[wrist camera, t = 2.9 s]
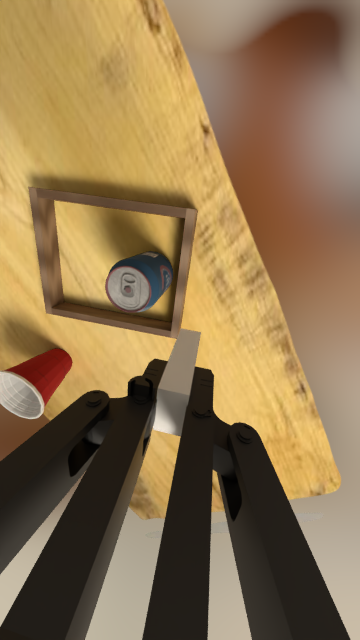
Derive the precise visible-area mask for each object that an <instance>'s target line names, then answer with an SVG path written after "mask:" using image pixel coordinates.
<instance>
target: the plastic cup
mask: <svg viewBox="0 0 360 640" xmlns="http://www.w3.org/2000/svg"><path fill="white" fill-rule="evenodd" d="M71 366H72V359H71V357H70V356H69V354H68V353H67V352H65V351H64V350H61V349H56V348H55V349H52V350H49V351H47V352H45V353H43V354H41V355H38V356H36V357H34V358H31V359H29V360H27V361H25V362H23V363H21V364H19V365H17V366H14V367H11V368H9V369H7V370H4V371H3V370H2V371H0V404H2V405H3V406H4V407H5V408H6V409H8V410H9V411H10V412H12V413H14V414H16V415H18V416H20V417H24V418H28V419H34V418H38V417H39V416H40V415H41V414H42V413H43V412H44V408H45V405H46V404H47V402H48V401H49V399H50V397H51V396H52V394H53V393H54V392H55V390H56V389H57V387H58V386H59V385H60V383H61V382H62V380H63V379H64V378H65V375H66V374H67V373H68V371H69V370H70V369H71Z"/></svg>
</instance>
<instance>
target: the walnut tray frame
mask: <svg viewBox="0 0 360 640" xmlns="http://www.w3.org/2000/svg"><path fill="white" fill-rule="evenodd" d="M28 188H29V195H30V202H31V209H32V216H33V224H34V231H35V238H36V245H37V252H38V259H39V266H40V274H41V281H42V288H43V295H44V302H45V309H46V313H48V314H53V315H58V316H63V317H68V318H73V319H78V320H84V321H89V322H94V323H99V324H104V325H109V326H114V327H119V328H124V329H129V330H135V331H140V332H145V333H150V334H155V335H160V336H165V337H170V338H175V339H177V337H178V335H179V332H180V329H181V323H182V316H183V309H184V302H185V295H186V288H187V282H188V275H189V268H190V261H191V254H192V247H193V240H194V234H195V227H196V220H197V213H198V211H197V210H196V209H189V208H181V207H174V206H167V205H159V204H152V203H144V202H137V201H130V200H122V199H115V198H107V197H100V196H93V195H85V194H78V193H70V192H63V191H56V190H48V189H41V188H33V187H28ZM54 200H56V201H64V202H71V203H78V204H85V205H92V206H99V207H106V208H114V209H121V210H128V211H135V212H142V213H149V214H156V215H164V216H171V217H178V218H185V226H184V234H183V241H182V249H181V257H180V265H179V273H178V281H177V289H176V297H175V305H174V313H173V320H172V322H166V321H161V320H156V319H150V318H145V317H140V316H135V315H129V314H124V313H119V312H113V311H108V310H103V309H97V308H92V307H87V306H82V305H76V304H71V303H66V302H64V298H63V288H62V278H61V268H60V258H59V248H58V238H57V228H56V218H55V208H54Z"/></svg>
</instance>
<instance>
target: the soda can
mask: <svg viewBox="0 0 360 640" xmlns="http://www.w3.org/2000/svg"><path fill="white" fill-rule="evenodd" d="M172 279H173V269H172V266H171V264H170V262H169V261H168V259H167V258H166V257H165V256H163V255H162V254H160V253H158V252H153V251H149V252H145V253H142V254H139V255H136V256H133V257H130V258H127V259H124V260H121V261H119V262H117V263H116V264H115V265H114V266H113V267H112V268H111V270H110V272H109V274H108V277H107V279H106V284H105V288H106V293H107V296H108V298H109V300H110V301H111V303H112V304H113V305H114V306H115V307H117V308H118V309H120V310H122V311H125V312H142V311H145V310H147V309H149V308H151V307H152V306H153V305H154V304H155V302H156V301H157V300H158V299H159V298H160V297H161V295H162V294H163V293H164V292H165V291H166V290H167V288H168V287H169V286H170V284H171V282H172Z"/></svg>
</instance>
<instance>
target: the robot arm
mask: <svg viewBox="0 0 360 640" xmlns="http://www.w3.org/2000/svg"><path fill="white" fill-rule="evenodd" d="M200 335H201V332H196V331H191V330H186V329H181V330H180V332H179V335H178V337H177V340H176V342H175V345H174V348H173V350H172V353H171V355H170V358H169V360H168V361H164V360H159V359H154V360H152V361H151V362H149V364H148V366H147V368H146V370H145V372H144V374H143V375H142V376H136V377H134V378H132V379H130V381H129V382H128V396H126V397H123V398H109V396H108V394H107V393H105V392H104V391H100V390H93V391H90V392H87V393H85V394H84V395H82V396H81V397H80V398H79V399H77V400H76V401H75V402H74V403H72V404H71V405H70V406H69V407H67V408H66V409H65V410H64V411H62V412H61V413H60V414H59V415H57V416H56V417H55V418H54V419H52V420H51V421H50V422H49V423H48V424H46V425H45V426H44V427H43V428H41V429H40V430H39V431H38V432H36V433H35V434H34V435H33V436H31V437H30V438H29V439H28V440H27V441H25V442H24V443H23V444H21V445H20V446H19V447H18V448H17V449H15V450H14V451H13V452H11V453H10V454H9V455H8V456H7V457H5V458H4V459H3V460H2V461H0V574H1V573H2V571H3V570H4V569H5V568H6V567H7V565H8V564H9V563H10V562H11V561H12V559H13V558H14V557H15V556H16V555H17V553H18V552H19V551H20V550H21V549H22V547H23V546H24V545H25V544H26V542H27V541H28V540H29V539H30V538H31V536H32V535H33V534H34V533H35V532H36V530H37V529H38V528H39V527H40V525H41V524H42V523H43V522H44V521H45V519H46V518H47V517H48V516H49V515H50V513H51V512H52V511H53V510H54V508H55V507H56V506H57V505H58V504H59V502H60V501H61V500H62V499H63V498H64V496H65V495H66V494H67V493H68V491H69V490H70V489H71V488H72V487H73V486H74V484H75V483H76V482H77V481H78V479H79V478H80V477H81V476H82V475H83V473H84V472H85V471H86V472H85V474H84V476H83V478H82V479H81V482H80V483H79V485H78V487H77V489H76V490H75V492H74V494H73V496H72V498H71V499H70V501H69V503H68V505H67V507H66V509H65V510H64V512H63V514H62V516H61V518H60V520H59V521H58V523H57V525H56V527H55V529H54V530H53V532H52V534H51V536H50V538H49V540H48V541H47V543H46V545H45V547H44V549H43V550H42V553H41V554H40V556H39V558H38V560H37V561H36V563H35V565H34V567H33V569H32V570H31V572H30V574H29V576H28V578H27V580H26V581H25V583H24V585H23V587H22V589H21V591H20V592H19V594H18V596H17V598H16V600H15V601H14V603H13V605H12V607H11V609H10V610H9V612H8V614H7V616H6V618H5V620H4V621H3V623H2V625H1V627H0V640H85V637H86V634H87V631H88V628H89V625H90V622H91V619H92V616H93V613H94V610H95V607H96V604H97V601H98V598H99V594H100V592H101V589H102V585H103V582H104V579H105V576H106V573H107V570H108V567H109V564H110V561H111V558H112V555H113V552H114V549H115V545H116V543H117V540H118V536H119V533H120V530H121V527H122V524H123V521H124V518H125V515H126V512H127V509H128V506H129V503H130V500H131V497H132V494H133V491H134V487H135V484H136V481H137V478H138V475H139V472H140V469H141V466H142V463H143V460H144V457H145V454H146V451H147V448H148V445H149V442H150V436H151V431H152V428H153V430H157V431H161V432H165V433H169V434H173V435H177V436H181V438H180V443H179V449H178V454H177V459H176V464H175V470H174V475H173V480H172V486H171V491H170V496H169V501H168V507H167V512H166V517H165V522H164V528H163V533H162V538H161V544H160V549H159V554H158V559H157V565H156V570H155V575H154V580H153V586H152V591H151V596H150V602H149V607H148V612H147V617H146V623H145V628H144V633H143V638H142V640H207V637H208V604H209V571H210V539H211V538H210V537H211V506H212V474H213V470H215V471H216V472H217V475H218V480H219V485H220V490H221V494H222V499H223V504H224V509H225V513H226V518H227V523H228V528H229V532H230V537H231V542H232V547H233V551H234V556H235V561H236V566H237V570H238V575H239V580H240V584H241V589H242V594H243V598H244V604H245V608H246V613H247V618H248V622H249V627H250V632H251V637H252V640H350V638H349V635H348V633H347V631H346V628H345V626H344V624H343V622H342V620H341V617H340V615H339V613H338V611H337V608H336V606H335V604H334V602H333V599H332V597H331V595H330V593H329V591H328V588H327V586H326V584H325V581H324V579H323V577H322V575H321V573H320V570H319V568H318V566H317V564H316V561H315V559H314V557H313V555H312V552H311V550H310V548H309V546H308V543H307V541H306V539H305V537H304V534H303V532H302V530H301V528H300V526H299V523H298V521H297V519H296V516H295V514H294V512H293V510H292V508H291V505H290V503H289V501H288V499H287V496H286V494H285V492H284V490H283V487H282V485H281V483H280V481H279V478H278V476H277V474H276V472H275V469H274V467H273V465H272V463H271V460H270V458H269V456H268V454H267V451H266V449H265V447H264V445H263V443H262V440H261V438H260V436H259V434H258V433H257V431H256V430H255V429H254V428H252V427H251V426H249V425H247V424H245V423H240V422H239V423H234V424H233V425H229V424H227V423H225V422H223V421H222V420H220V419H219V418H218V417H217V416H216V414H215V413H214V411H213V386H214V375H213V373H212V371H211V370H209V369H204V368H200V367H195V363H196V357H197V351H198V346H199V340H200Z"/></svg>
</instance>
